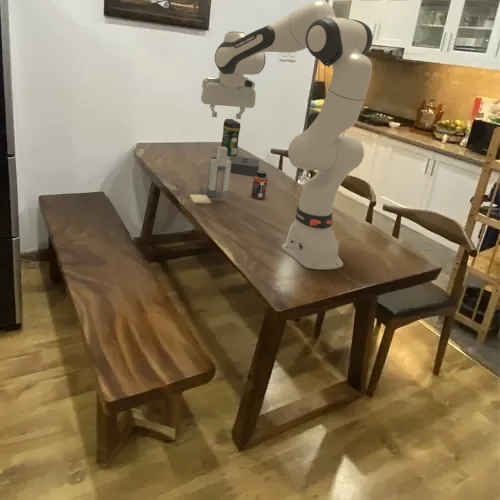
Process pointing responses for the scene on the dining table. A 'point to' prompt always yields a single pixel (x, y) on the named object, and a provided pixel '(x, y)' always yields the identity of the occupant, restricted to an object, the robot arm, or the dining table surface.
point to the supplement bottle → (259, 185)
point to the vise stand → (217, 191)
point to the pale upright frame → (226, 173)
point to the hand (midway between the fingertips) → (226, 117)
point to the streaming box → (244, 165)
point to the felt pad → (200, 199)
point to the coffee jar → (230, 136)
